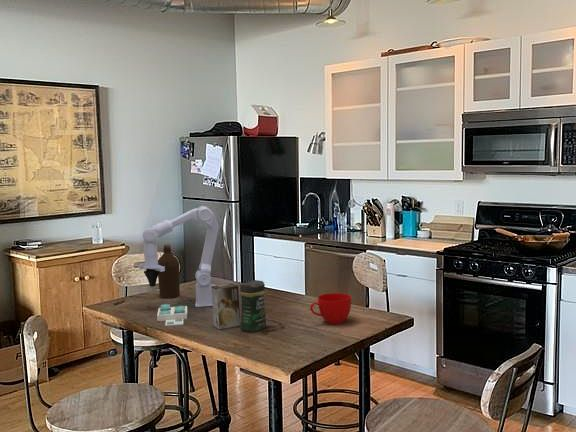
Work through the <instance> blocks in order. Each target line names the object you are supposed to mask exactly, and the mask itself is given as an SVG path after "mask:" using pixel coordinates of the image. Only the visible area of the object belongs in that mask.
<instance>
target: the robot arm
mask: <svg viewBox="0 0 576 432" xmlns="http://www.w3.org/2000/svg"><path fill="white" fill-rule="evenodd" d="M198 219H199V220H200V221H201V222H202V223H203V224H204V225H205V226H206V229H207V230H206V234H205V240H204V243H203V244H204V245H203V249H202V255H201V258H200V263H199V266H198V268H197V270H196V272H195V274H194V277H195V279H196V283H195V286H194V287H195V303H194V304H195V308H199V307H200V308H201V307H213V304H212V288H211V286H216V285H217V284H215V283H214V284H212V276H211V272H212V264H213V263H212V262H213V257H214V254H215V253H214V251H215V248H216V243H217V237H218V233H219V230H220V228H219V227H220V226H219V223H218V221H217V218H216V216H215V213H214V212H213V211H212V210H211V209H210V208H208V207H207V206H205V205H200V206H198V207H195V208H193V209H190V210H188V211H186V212H185V213H183V214H181V215H179V216H177V217H175V218H172V219H171V220H169V219H161V220H160V222H158V223H156V224H155V225H153V224H152V225H150V227H147V228H145V229H144V230H143V232H142V238H143V257H144V263H140V264H138V269H139V270H144V271H143V274H144V275H145V277H146V279H147V281H148V284H149V287H151V288H152V287H156V286H157V282H158V275H159V273H160V272H162V271H165V267H164V266H160V265H158V260H159V257H158V255H159V254H158V244H157V239H158V238H161V237H164V236H166V235H167V234H170V233H172V232H173V229H174V228H175V227H178V226H179V225H182V224H184V223H187V222H189V221H198Z"/></svg>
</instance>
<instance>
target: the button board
mask: <svg viewBox="0 0 576 432" xmlns="http://www.w3.org/2000/svg"><path fill="white" fill-rule="evenodd" d="M183 306H184V313H177V314H175V307H176V306H170V310H168V311H169V312H170V314H164V315H160V312H161V307H158V310H157V315H156V316H157V317H156V319H157V322H166V320H175V319H183V320H188V306H187V305H183Z"/></svg>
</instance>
